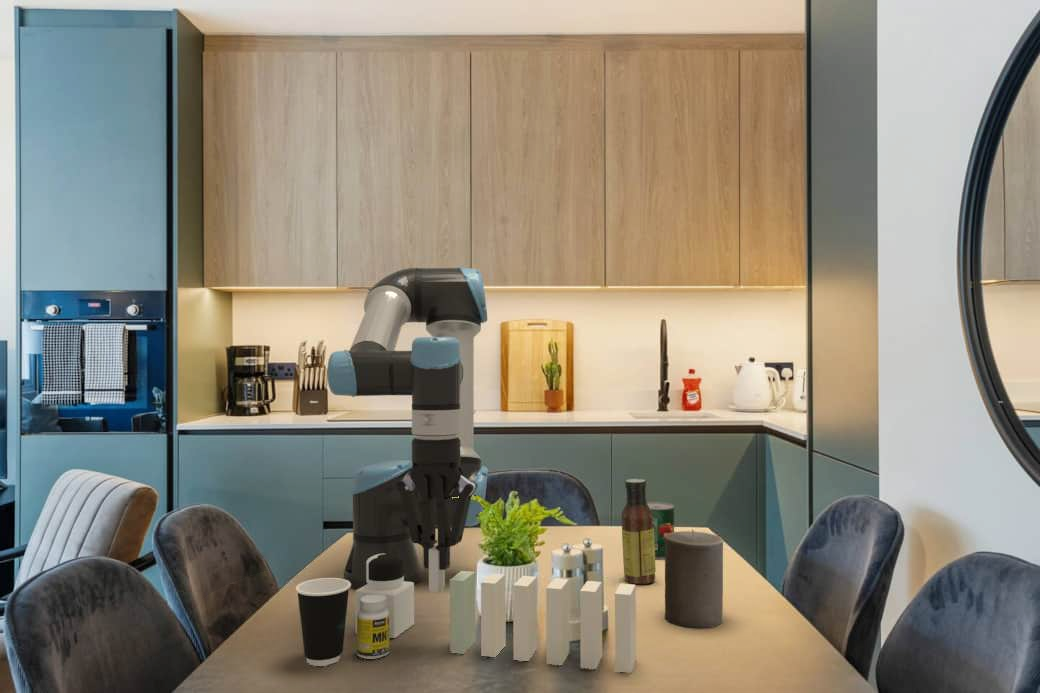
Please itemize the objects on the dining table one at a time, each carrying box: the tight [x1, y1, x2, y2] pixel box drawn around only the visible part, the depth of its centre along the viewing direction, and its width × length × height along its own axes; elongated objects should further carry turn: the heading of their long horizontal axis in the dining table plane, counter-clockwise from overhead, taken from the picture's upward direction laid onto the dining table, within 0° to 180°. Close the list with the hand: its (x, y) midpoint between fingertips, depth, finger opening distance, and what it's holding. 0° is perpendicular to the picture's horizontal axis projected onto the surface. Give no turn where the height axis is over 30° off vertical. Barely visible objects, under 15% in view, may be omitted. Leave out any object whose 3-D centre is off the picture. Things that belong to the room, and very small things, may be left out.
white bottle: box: [354, 553, 415, 639], centre depth 126 cm, size 7×7×12 cm
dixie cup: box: [295, 577, 351, 665], centre depth 114 cm, size 8×8×11 cm
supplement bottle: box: [356, 594, 390, 660], centre depth 116 cm, size 5×5×8 cm
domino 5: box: [614, 583, 637, 674], centre depth 111 cm, size 2×5×11 cm, turn 163°
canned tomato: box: [646, 501, 675, 560], centre depth 172 cm, size 8×8×11 cm
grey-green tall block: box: [449, 570, 476, 653], centre depth 118 cm, size 2×5×11 cm, turn 163°
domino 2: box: [512, 575, 538, 662], centre depth 115 cm, size 2×5×11 cm, turn 163°
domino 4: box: [579, 580, 603, 670], centre depth 112 cm, size 2×5×11 cm, turn 163°
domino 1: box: [480, 572, 507, 658], centre depth 117 cm, size 2×5×11 cm, turn 163°
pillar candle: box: [664, 529, 724, 629], centre depth 131 cm, size 10×10×15 cm
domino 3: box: [545, 577, 570, 667], centre depth 114 cm, size 2×5×11 cm, turn 163°
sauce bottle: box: [621, 478, 657, 585], centre depth 152 cm, size 7×6×20 cm
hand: (436, 589), depth 119 cm, fingers closed
